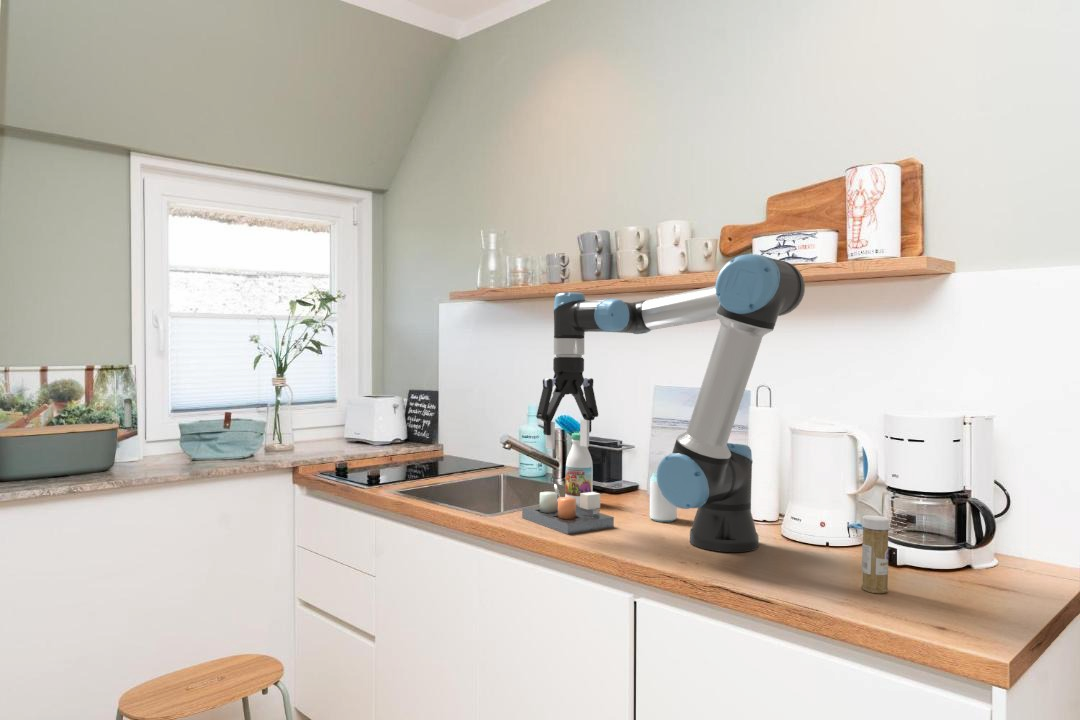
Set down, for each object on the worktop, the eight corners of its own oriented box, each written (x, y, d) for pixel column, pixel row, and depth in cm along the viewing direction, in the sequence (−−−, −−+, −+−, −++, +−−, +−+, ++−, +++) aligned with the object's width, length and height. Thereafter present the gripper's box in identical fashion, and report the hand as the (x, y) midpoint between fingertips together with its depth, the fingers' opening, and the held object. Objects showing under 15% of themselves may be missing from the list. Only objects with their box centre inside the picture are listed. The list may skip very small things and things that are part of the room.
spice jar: (889, 595, 130) (890, 520, 130) (861, 592, 132) (862, 518, 131) (887, 588, 134) (888, 515, 134) (860, 585, 136) (861, 513, 136)
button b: (560, 511, 184) (560, 493, 184) (545, 513, 182) (546, 495, 182) (550, 508, 188) (550, 491, 188) (536, 510, 185) (536, 492, 185)
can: (675, 517, 191) (676, 471, 191) (678, 523, 184) (678, 476, 184) (648, 516, 192) (649, 470, 192) (649, 522, 185) (650, 475, 185)
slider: (600, 507, 181) (600, 493, 181) (587, 509, 178) (587, 495, 178) (592, 505, 183) (593, 491, 183) (580, 507, 181) (580, 493, 181)
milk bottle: (567, 500, 211) (568, 431, 211) (594, 501, 209) (595, 432, 209) (563, 505, 203) (564, 434, 203) (590, 507, 202) (591, 435, 202)
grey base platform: (613, 527, 179) (614, 495, 179) (567, 534, 171) (568, 501, 171) (564, 511, 196) (565, 482, 196) (520, 517, 188) (521, 487, 188)
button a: (579, 517, 177) (579, 499, 177) (564, 519, 175) (564, 501, 175) (568, 514, 181) (568, 496, 181) (554, 516, 179) (554, 498, 179)
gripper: (595, 356, 187) (594, 443, 187) (522, 355, 175) (520, 448, 175) (613, 356, 181) (612, 446, 181) (539, 356, 168) (538, 452, 169)
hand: (567, 447), depth 178 cm, fingers open, 10 cm apart
